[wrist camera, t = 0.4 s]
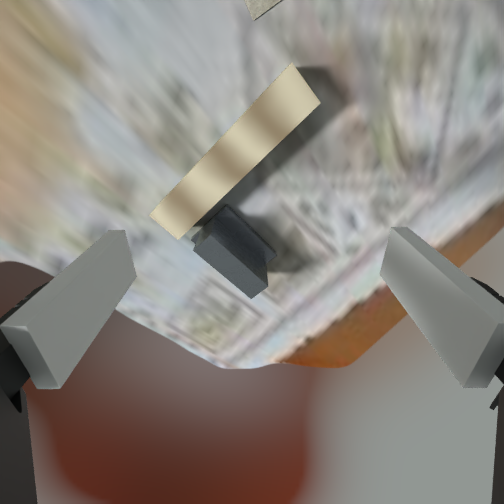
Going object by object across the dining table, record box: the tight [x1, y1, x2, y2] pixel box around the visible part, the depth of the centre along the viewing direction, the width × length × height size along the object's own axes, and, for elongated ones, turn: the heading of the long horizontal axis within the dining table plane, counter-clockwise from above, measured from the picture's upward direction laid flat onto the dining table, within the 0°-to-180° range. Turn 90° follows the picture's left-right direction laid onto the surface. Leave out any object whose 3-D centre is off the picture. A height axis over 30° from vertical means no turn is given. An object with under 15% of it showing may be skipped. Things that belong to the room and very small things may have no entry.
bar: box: [149, 63, 321, 240], centre depth 32 cm, size 22×4×4 cm, turn 133°
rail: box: [191, 205, 277, 299], centre depth 36 cm, size 10×7×6 cm
